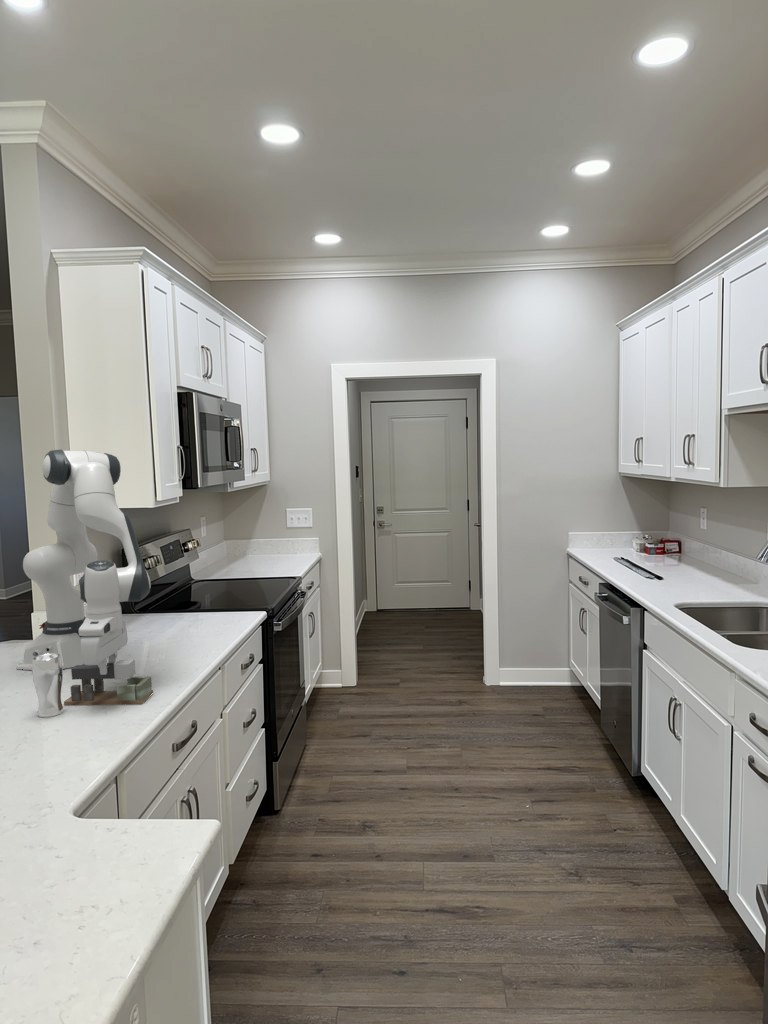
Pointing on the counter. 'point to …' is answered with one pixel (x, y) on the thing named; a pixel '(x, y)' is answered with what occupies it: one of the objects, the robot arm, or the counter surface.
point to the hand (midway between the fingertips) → (108, 671)
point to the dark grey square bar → (116, 671)
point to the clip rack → (111, 692)
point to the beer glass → (48, 683)
